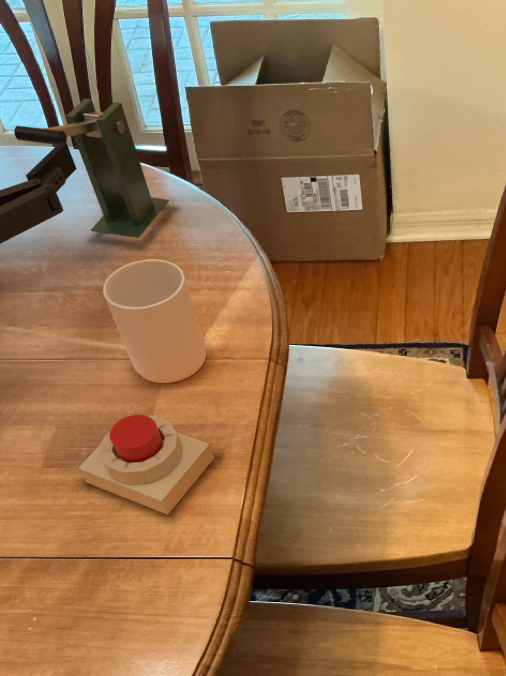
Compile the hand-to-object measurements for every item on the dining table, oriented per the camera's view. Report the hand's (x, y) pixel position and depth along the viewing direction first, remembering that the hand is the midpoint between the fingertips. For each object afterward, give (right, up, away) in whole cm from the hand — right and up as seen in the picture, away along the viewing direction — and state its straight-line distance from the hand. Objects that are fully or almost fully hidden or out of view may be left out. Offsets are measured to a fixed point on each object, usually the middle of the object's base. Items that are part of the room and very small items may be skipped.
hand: (11, 148), depth 80 cm
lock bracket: (+5, +2, +23) cm, 23 cm away
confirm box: (+16, -34, -3) cm, 38 cm away
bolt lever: (+3, +5, +9) cm, 11 cm away
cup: (+15, -19, +8) cm, 25 cm away
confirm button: (+16, -32, -6) cm, 36 cm away
